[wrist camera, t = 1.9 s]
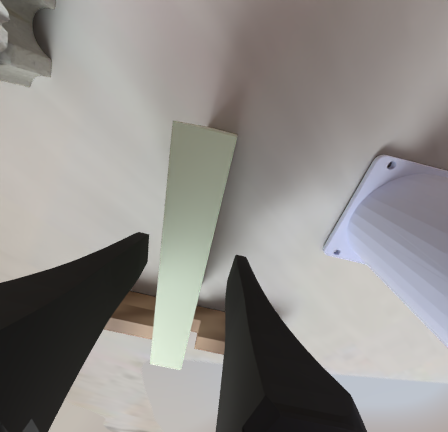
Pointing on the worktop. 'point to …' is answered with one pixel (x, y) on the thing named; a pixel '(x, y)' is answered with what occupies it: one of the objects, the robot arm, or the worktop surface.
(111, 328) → the walnut board
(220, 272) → the worktop surface
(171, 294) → the long pale green beam
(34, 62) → the egg carton
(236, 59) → the worktop surface
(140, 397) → the worktop surface
